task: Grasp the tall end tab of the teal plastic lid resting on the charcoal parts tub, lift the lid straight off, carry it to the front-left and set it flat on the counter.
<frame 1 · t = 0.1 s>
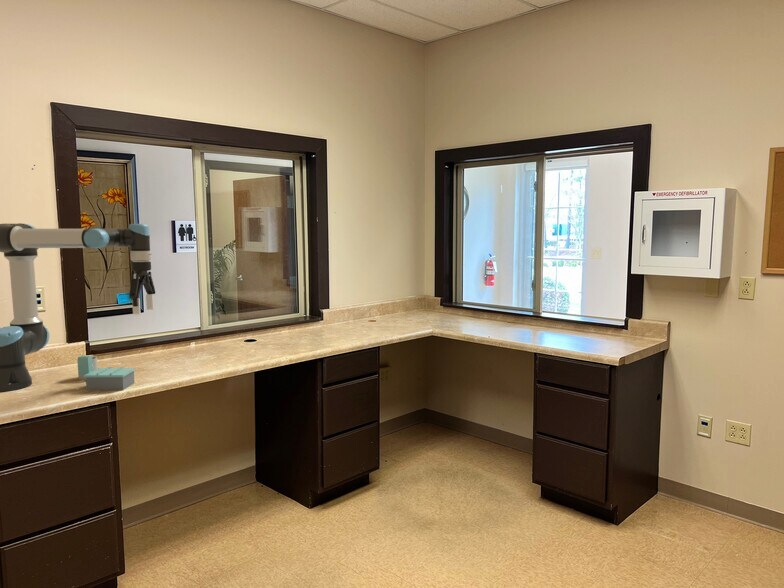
hand: (143, 311, 236), 28 cm above the counter, fingers open, 13 cm apart
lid: (110, 373, 222), point 6 cm above the counter, touching tub
cup: (89, 380, 235), on the counter
tub: (111, 388, 222), on the counter
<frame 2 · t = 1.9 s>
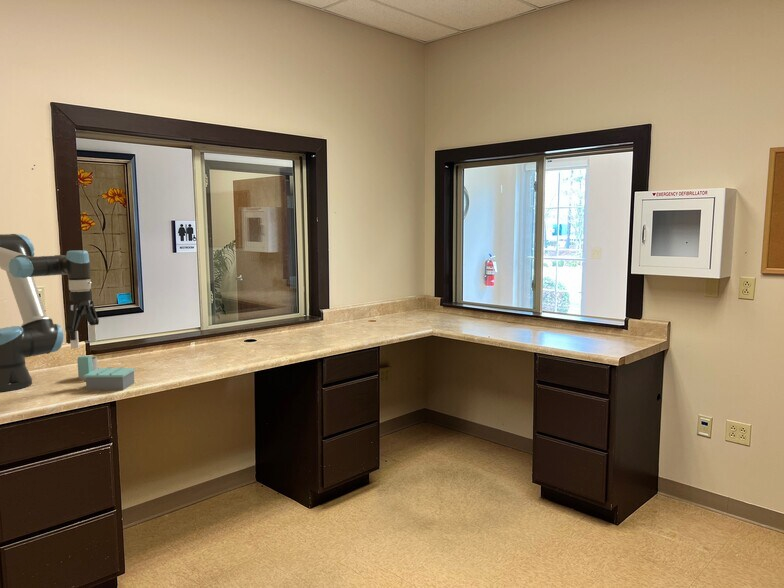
hand: (84, 344, 220), 18 cm above the counter, fingers open, 13 cm apart
nothing on the counter moved.
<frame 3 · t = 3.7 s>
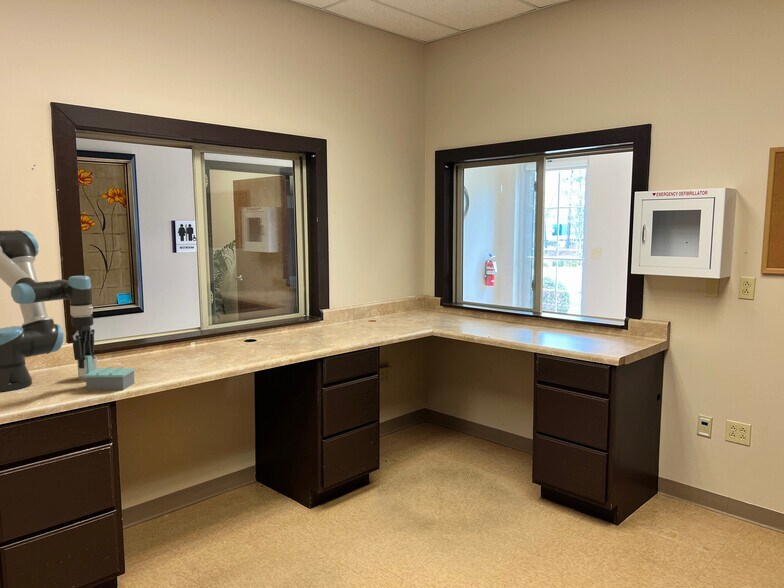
hand: (85, 374, 221), 6 cm above the counter, fingers closed on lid, 3 cm apart
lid: (110, 373, 222), point 6 cm above the counter, touching gripper, tub
everything else where it was.
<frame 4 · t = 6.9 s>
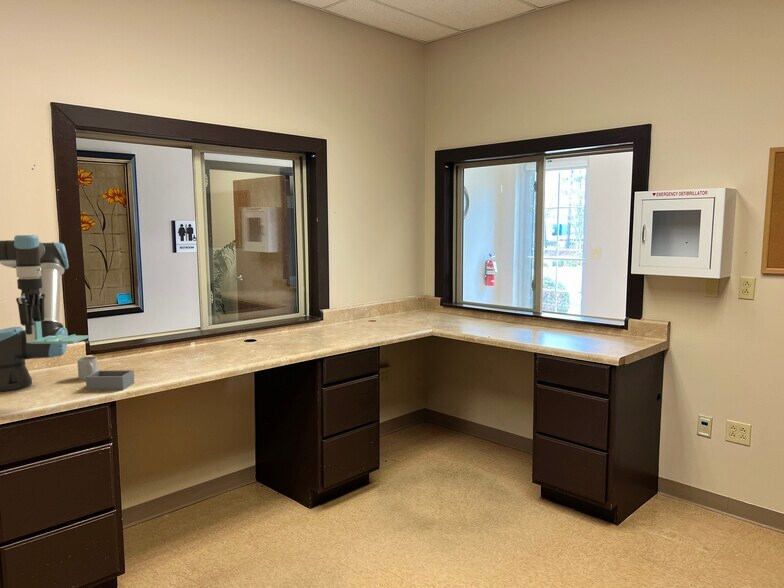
hand: (34, 341, 206), 22 cm above the counter, fingers closed on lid, 3 cm apart
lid: (60, 340, 206), point 22 cm above the counter, touching gripper
everything else where it was.
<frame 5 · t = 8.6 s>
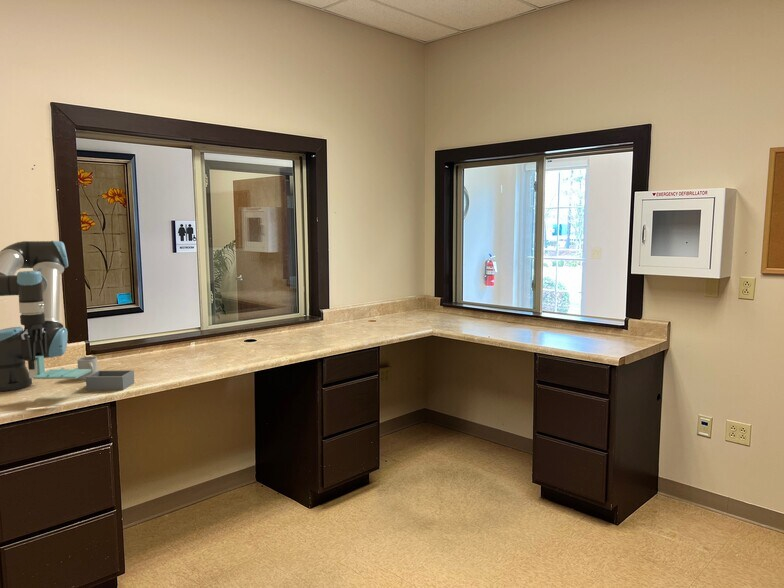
hand: (36, 376, 208), 9 cm above the counter, fingers closed on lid, 3 cm apart
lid: (63, 375, 208), point 9 cm above the counter, touching gripper
everything else where it was.
when the fingers open (1 cm above the counter, at t = 10.0 s): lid drops 2 cm, on the counter.
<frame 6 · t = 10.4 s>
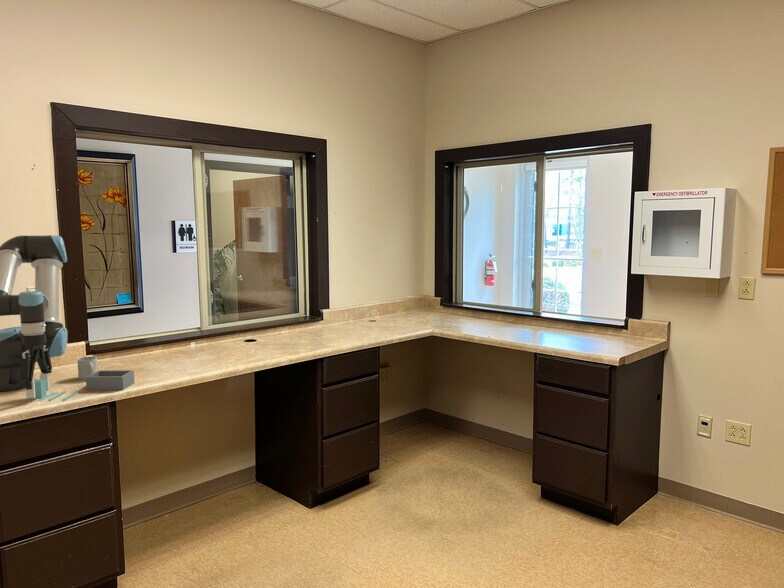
hand: (38, 394, 209), 2 cm above the counter, fingers open, 8 cm apart
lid: (64, 398, 209), on the counter
everything else where it was.
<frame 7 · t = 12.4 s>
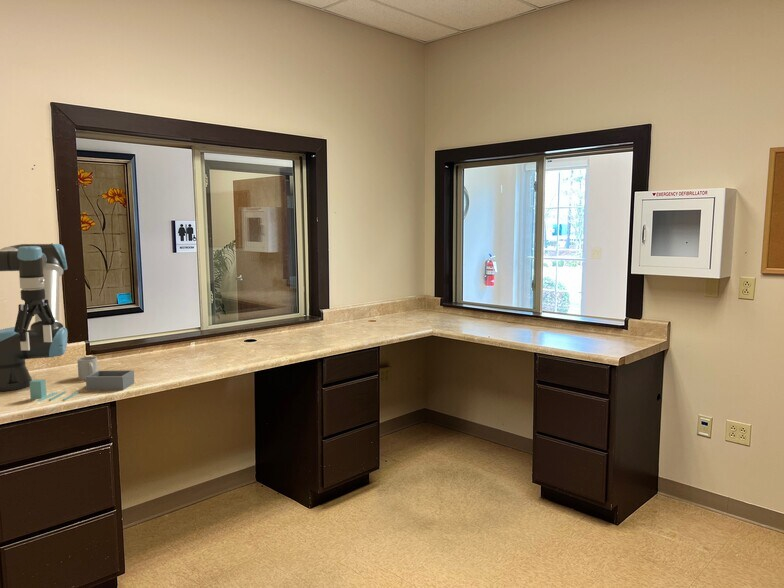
hand: (37, 346, 208), 20 cm above the counter, fingers open, 13 cm apart
nothing on the counter moved.
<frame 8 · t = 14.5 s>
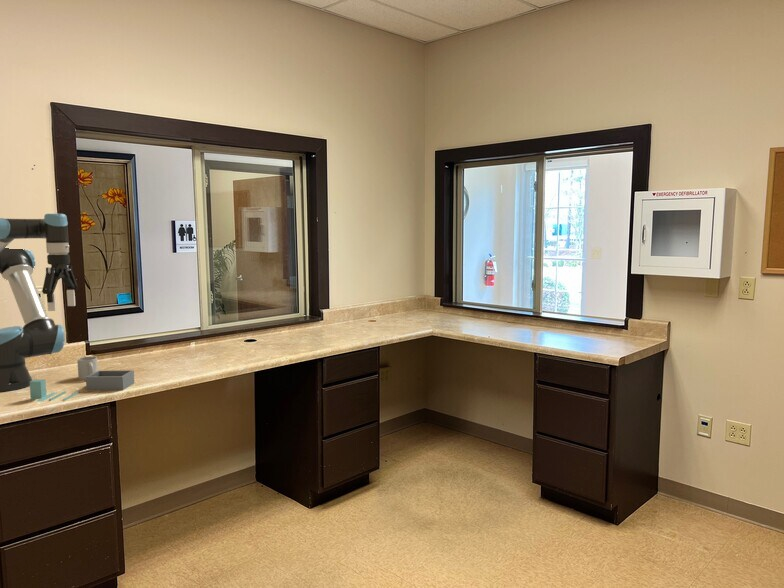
hand: (62, 308, 220), 32 cm above the counter, fingers open, 13 cm apart
nothing on the counter moved.
at the end: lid inside the target area (1.1 cm from its centre), on the counter; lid touching counter; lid tilted 0° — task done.
